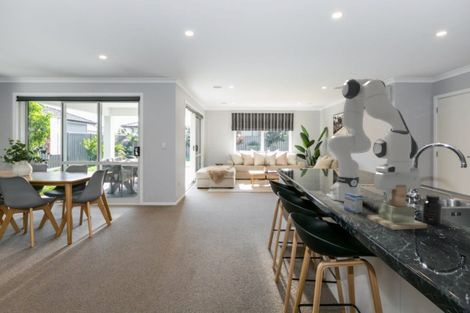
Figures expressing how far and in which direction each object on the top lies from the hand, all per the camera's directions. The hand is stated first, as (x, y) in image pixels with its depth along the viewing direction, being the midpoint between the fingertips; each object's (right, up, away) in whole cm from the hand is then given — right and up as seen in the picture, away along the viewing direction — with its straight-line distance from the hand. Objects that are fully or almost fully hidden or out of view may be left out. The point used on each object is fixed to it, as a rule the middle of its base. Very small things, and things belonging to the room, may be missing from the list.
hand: (396, 199), depth 118 cm
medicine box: (-10, -9, +20) cm, 25 cm away
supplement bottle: (+17, -11, +2) cm, 20 cm away
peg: (0, -4, 0) cm, 4 cm away
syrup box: (+10, -10, +22) cm, 26 cm away
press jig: (0, -11, +1) cm, 11 cm away
